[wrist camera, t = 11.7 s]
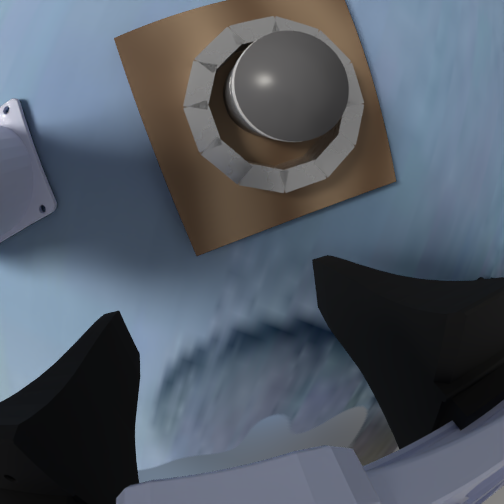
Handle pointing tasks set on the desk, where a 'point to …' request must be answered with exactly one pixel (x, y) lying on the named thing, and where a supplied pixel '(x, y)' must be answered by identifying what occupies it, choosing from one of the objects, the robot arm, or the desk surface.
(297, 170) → the mount ring
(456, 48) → the desk surface
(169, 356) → the desk surface
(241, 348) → the desk surface
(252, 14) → the walnut board
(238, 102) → the charcoal lens
